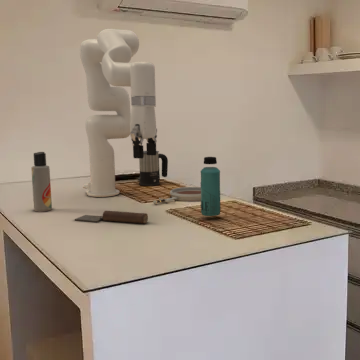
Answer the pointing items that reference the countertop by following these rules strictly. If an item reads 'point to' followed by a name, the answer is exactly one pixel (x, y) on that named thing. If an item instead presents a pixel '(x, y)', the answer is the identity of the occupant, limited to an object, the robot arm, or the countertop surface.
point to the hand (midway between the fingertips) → (145, 156)
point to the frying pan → (183, 195)
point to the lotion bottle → (41, 183)
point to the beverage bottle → (210, 188)
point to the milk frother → (152, 169)
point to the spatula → (116, 217)
